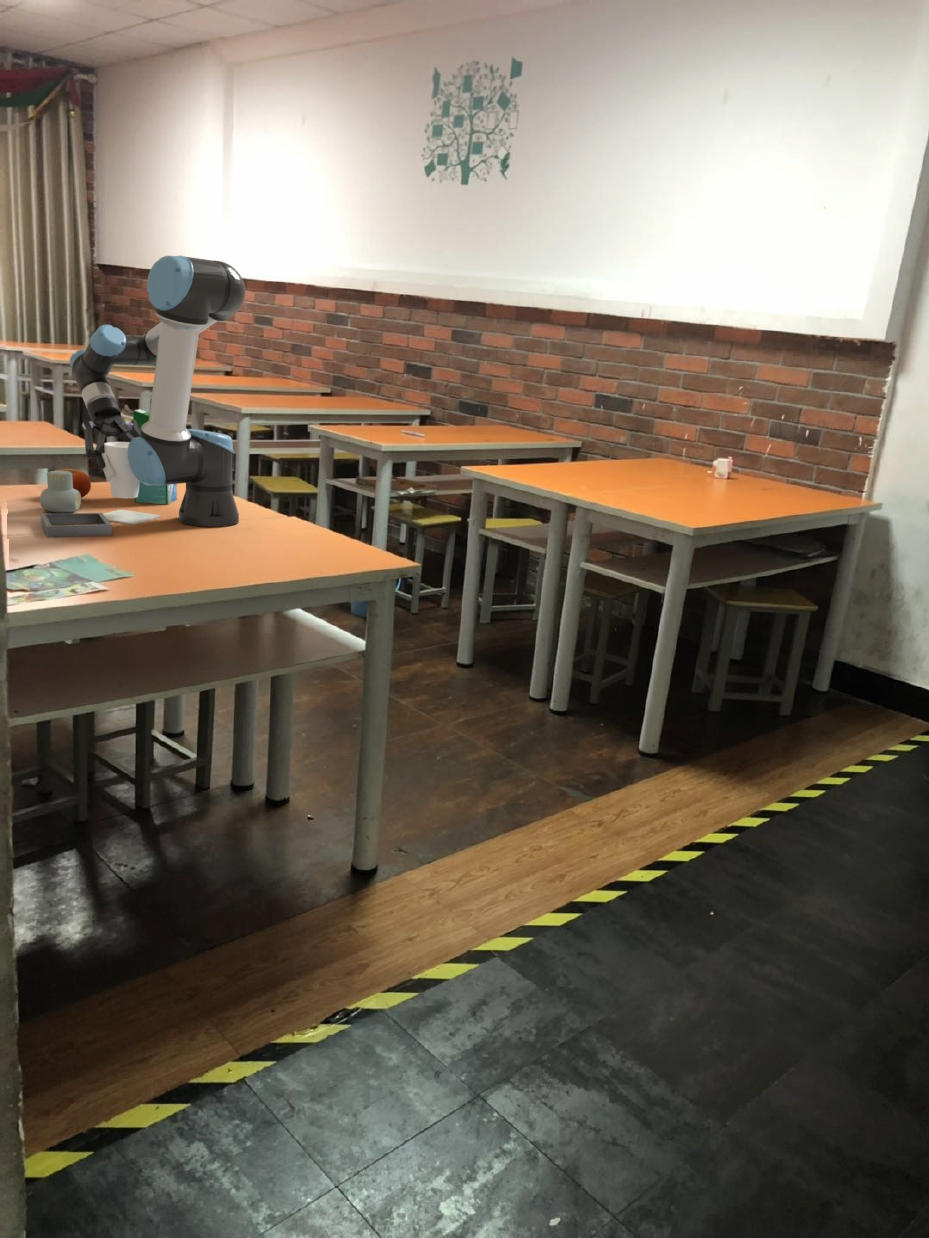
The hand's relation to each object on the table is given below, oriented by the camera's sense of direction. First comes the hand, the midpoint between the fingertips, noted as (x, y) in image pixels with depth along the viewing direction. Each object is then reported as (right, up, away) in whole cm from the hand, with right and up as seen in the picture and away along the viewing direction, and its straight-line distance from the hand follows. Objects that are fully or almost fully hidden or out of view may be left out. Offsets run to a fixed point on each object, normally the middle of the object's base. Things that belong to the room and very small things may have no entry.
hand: (130, 477), depth 240 cm
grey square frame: (-9, -14, -12) cm, 21 cm away
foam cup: (-3, -4, +4) cm, 6 cm away
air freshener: (-20, -8, +6) cm, 22 cm away
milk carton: (-3, -3, +28) cm, 29 cm away
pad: (-3, -10, +5) cm, 11 cm away
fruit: (-24, -3, +21) cm, 32 cm away
